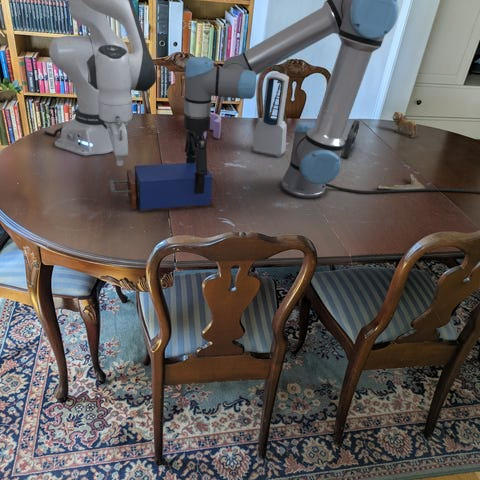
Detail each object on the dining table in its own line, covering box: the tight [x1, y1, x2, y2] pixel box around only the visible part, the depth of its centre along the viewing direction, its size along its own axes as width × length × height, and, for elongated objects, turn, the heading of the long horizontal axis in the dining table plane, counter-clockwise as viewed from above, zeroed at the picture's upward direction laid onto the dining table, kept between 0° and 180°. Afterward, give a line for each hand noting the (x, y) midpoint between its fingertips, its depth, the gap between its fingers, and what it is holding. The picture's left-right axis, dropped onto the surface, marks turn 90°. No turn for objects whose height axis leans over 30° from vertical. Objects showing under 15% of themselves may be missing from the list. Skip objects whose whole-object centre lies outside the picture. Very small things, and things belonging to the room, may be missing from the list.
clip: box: [203, 112, 222, 140], centre depth 199 cm, size 20×12×7 cm, turn 23°
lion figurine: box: [392, 111, 420, 138], centre depth 220 cm, size 15×5×9 cm, turn 50°
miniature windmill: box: [269, 58, 290, 124], centre depth 205 cm, size 9×8×30 cm
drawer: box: [108, 169, 140, 210], centre depth 141 cm, size 26×10×8 cm, turn 109°
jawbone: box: [376, 173, 426, 190], centre depth 169 cm, size 9×20×2 cm, turn 126°
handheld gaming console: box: [342, 119, 361, 159], centre depth 194 cm, size 23×3×10 cm, turn 161°
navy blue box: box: [134, 162, 213, 213], centre depth 143 cm, size 22×11×10 cm, turn 109°
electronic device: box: [251, 72, 290, 158], centre depth 178 cm, size 12×8×30 cm, turn 71°
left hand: (118, 159), depth 133 cm, fingers open, 6 cm apart
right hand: (194, 184), depth 145 cm, fingers closed on navy blue box, 11 cm apart
